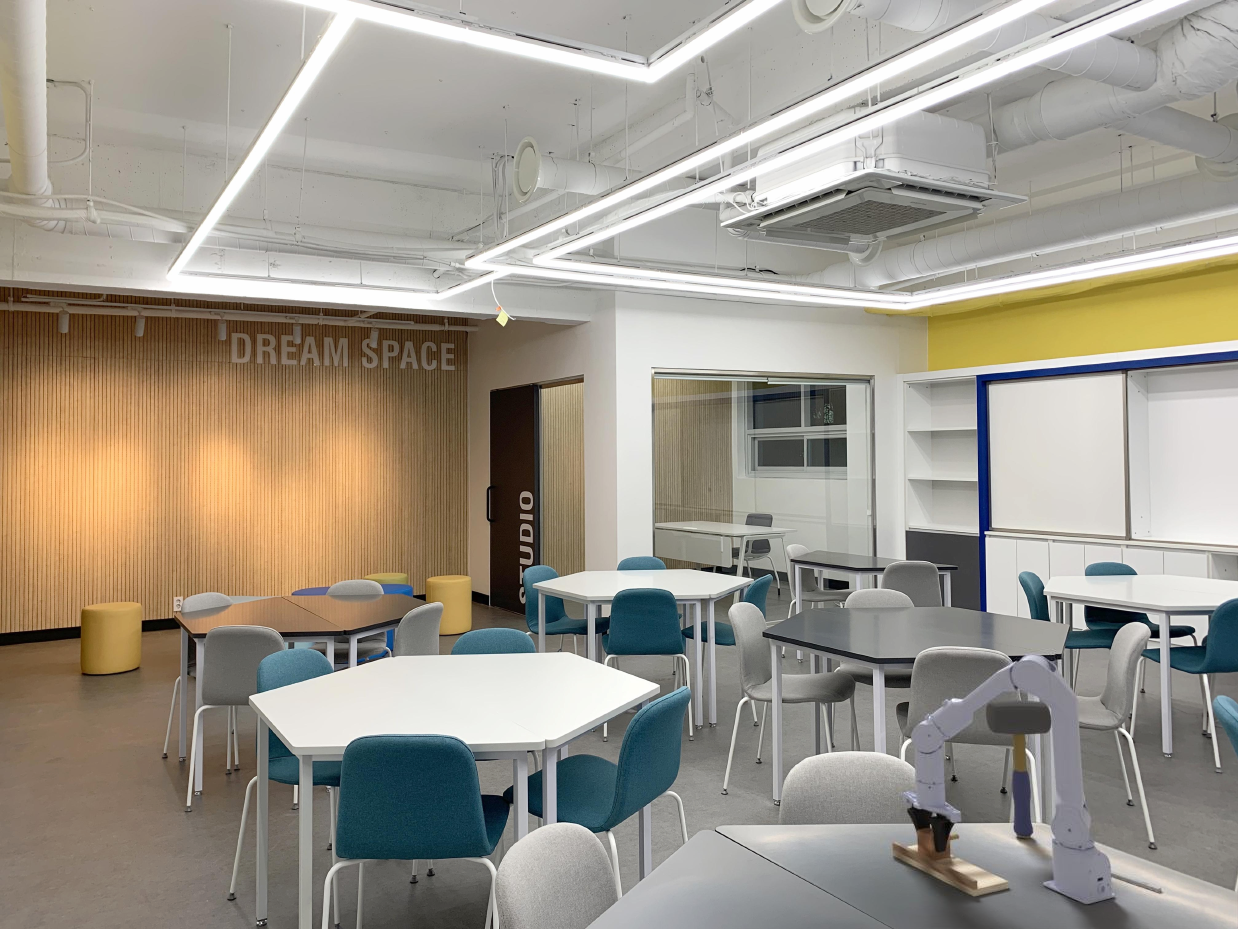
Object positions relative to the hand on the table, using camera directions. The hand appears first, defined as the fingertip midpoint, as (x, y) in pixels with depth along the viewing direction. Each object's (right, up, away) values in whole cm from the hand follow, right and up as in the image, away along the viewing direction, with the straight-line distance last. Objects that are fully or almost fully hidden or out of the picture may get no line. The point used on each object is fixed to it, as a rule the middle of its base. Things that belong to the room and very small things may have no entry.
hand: (932, 847), depth 176 cm
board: (+1, -3, -5) cm, 6 cm away
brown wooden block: (+2, -2, +1) cm, 3 cm away
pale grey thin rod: (+34, -3, -10) cm, 36 cm away
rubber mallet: (+25, -4, +13) cm, 29 cm away
